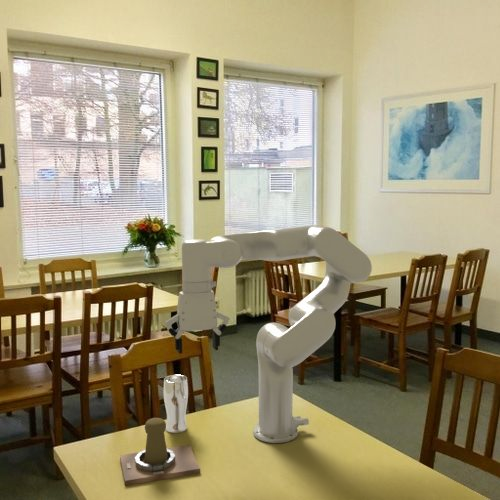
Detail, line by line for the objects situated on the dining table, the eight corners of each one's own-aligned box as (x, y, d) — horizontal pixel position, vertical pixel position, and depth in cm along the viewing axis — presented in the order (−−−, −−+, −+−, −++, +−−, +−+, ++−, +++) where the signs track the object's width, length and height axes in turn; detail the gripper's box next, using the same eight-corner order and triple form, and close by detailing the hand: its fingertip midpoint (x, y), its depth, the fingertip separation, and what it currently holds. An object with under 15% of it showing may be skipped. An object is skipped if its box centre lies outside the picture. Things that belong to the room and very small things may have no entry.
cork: (173, 461, 138) (172, 419, 137) (154, 470, 134) (153, 427, 133) (158, 453, 142) (157, 412, 141) (139, 462, 138) (137, 420, 137)
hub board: (189, 449, 147) (189, 444, 147) (200, 473, 135) (200, 467, 135) (120, 459, 142) (120, 454, 142) (125, 485, 130) (124, 480, 130)
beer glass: (193, 426, 162) (192, 376, 160) (180, 435, 155) (179, 384, 154) (172, 421, 164) (171, 373, 163) (159, 431, 158) (158, 380, 156)
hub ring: (171, 450, 144) (170, 445, 144) (177, 468, 135) (177, 462, 135) (133, 456, 141) (133, 450, 141) (137, 475, 132) (137, 469, 132)
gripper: (224, 282, 151) (225, 343, 153) (161, 286, 146) (162, 349, 148) (232, 287, 144) (233, 351, 146) (166, 291, 138) (167, 358, 140)
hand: (197, 350), depth 147 cm, fingers open, 9 cm apart
